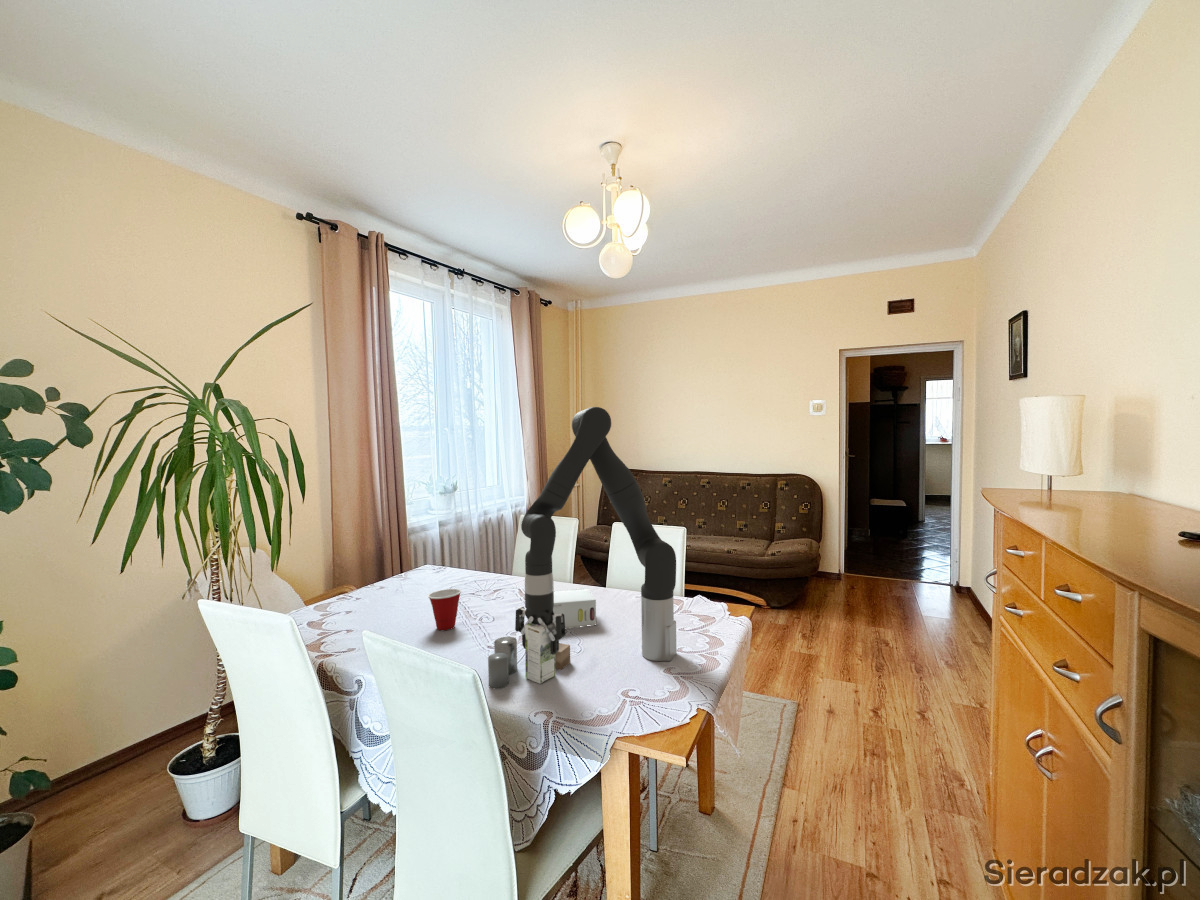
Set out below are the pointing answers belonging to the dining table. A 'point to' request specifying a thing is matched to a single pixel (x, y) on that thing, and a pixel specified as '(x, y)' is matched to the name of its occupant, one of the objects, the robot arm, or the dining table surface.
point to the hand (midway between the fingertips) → (540, 650)
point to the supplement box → (575, 607)
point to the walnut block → (562, 656)
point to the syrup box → (538, 654)
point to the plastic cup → (445, 607)
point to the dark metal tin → (508, 651)
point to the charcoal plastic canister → (498, 670)
